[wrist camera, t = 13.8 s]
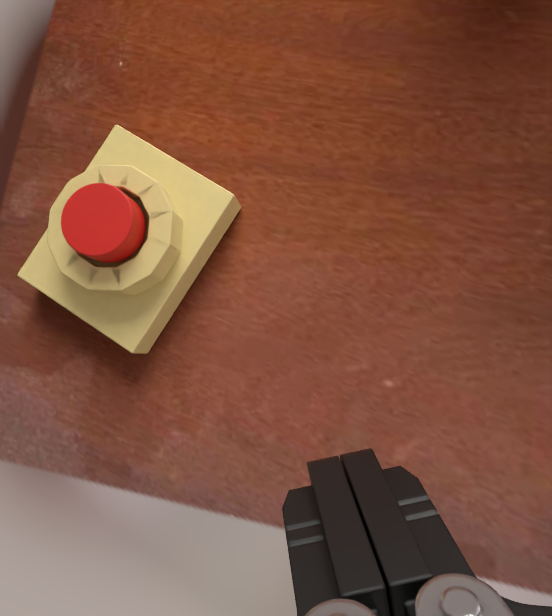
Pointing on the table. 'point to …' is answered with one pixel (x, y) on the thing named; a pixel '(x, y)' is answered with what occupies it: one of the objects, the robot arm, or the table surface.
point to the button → (103, 223)
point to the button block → (151, 253)
